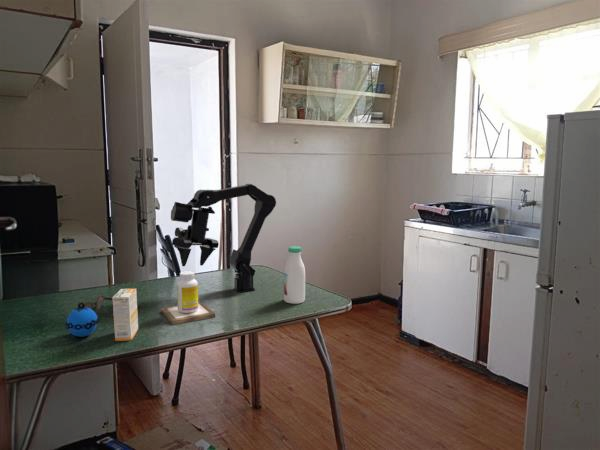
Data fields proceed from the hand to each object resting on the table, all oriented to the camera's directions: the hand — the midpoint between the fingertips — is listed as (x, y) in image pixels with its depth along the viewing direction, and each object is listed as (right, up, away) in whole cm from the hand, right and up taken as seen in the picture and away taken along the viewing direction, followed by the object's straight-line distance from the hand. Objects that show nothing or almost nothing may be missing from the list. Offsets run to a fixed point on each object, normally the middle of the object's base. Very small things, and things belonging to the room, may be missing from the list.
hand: (192, 265), depth 172 cm
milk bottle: (+38, -13, -2) cm, 40 cm away
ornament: (-24, -18, -36) cm, 46 cm away
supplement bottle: (+3, -14, -17) cm, 22 cm away
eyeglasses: (-23, -15, -16) cm, 32 cm away
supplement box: (-11, -18, -35) cm, 41 cm away
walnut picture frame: (+2, -15, -17) cm, 23 cm away
